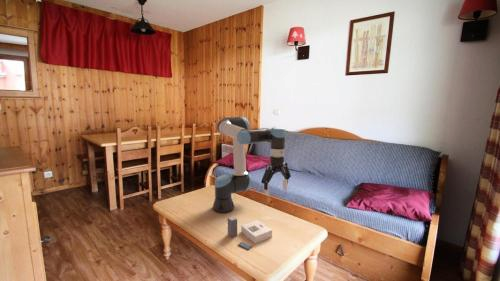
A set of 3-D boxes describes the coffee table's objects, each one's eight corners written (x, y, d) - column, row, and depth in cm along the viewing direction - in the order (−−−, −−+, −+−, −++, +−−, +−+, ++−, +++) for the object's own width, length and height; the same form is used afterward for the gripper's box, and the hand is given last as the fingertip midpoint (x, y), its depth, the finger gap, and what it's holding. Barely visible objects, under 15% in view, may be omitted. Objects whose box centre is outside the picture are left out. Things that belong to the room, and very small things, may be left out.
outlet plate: (241, 231, 145) (241, 225, 144) (257, 225, 151) (257, 219, 150) (255, 243, 133) (255, 236, 132) (271, 236, 140) (272, 229, 139)
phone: (237, 246, 131) (237, 244, 131) (241, 243, 134) (241, 241, 134) (248, 251, 127) (248, 249, 127) (252, 247, 130) (252, 246, 130)
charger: (227, 234, 142) (227, 218, 140) (233, 232, 144) (233, 216, 142) (231, 237, 138) (231, 220, 137) (237, 235, 141) (237, 218, 139)
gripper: (264, 160, 123) (263, 199, 127) (298, 154, 138) (296, 189, 142) (255, 157, 129) (254, 195, 133) (288, 151, 144) (287, 185, 148)
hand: (276, 192), depth 138 cm, fingers open, 13 cm apart
